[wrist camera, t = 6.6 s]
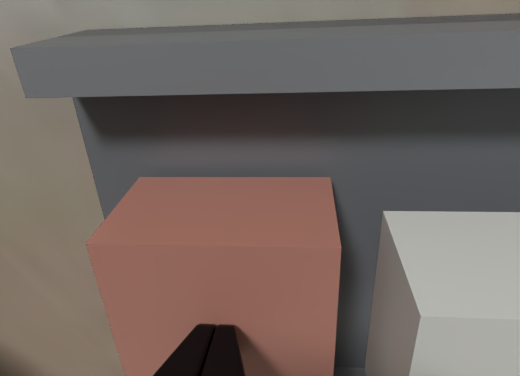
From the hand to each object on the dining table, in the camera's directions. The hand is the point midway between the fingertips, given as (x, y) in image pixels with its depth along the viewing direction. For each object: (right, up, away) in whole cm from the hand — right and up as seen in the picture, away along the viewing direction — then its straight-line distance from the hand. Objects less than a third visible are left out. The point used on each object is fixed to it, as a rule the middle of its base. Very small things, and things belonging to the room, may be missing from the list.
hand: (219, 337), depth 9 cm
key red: (0, +1, +3) cm, 3 cm away
